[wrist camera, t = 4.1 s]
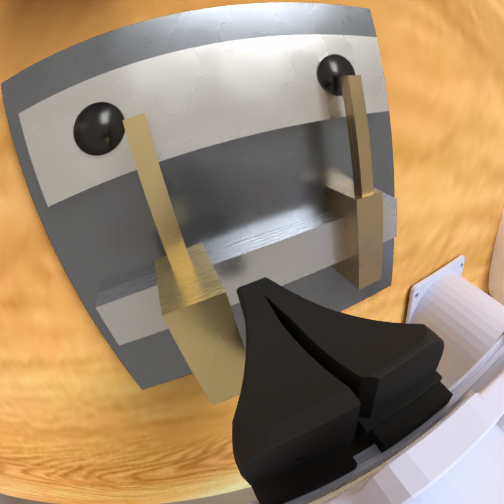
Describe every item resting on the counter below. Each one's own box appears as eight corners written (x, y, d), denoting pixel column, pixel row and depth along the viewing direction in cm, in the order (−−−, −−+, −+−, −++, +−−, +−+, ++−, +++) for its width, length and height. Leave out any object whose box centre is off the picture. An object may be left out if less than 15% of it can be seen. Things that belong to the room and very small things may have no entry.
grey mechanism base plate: (384, 279, 20) (413, 302, 18) (141, 380, 17) (146, 420, 14) (360, 11, 11) (400, 0, 9) (8, 85, 8) (-26, 79, 5)
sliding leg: (231, 331, 14) (258, 387, 11) (193, 345, 14) (211, 404, 11) (162, 108, 9) (171, 100, 6) (108, 127, 9) (89, 129, 6)
